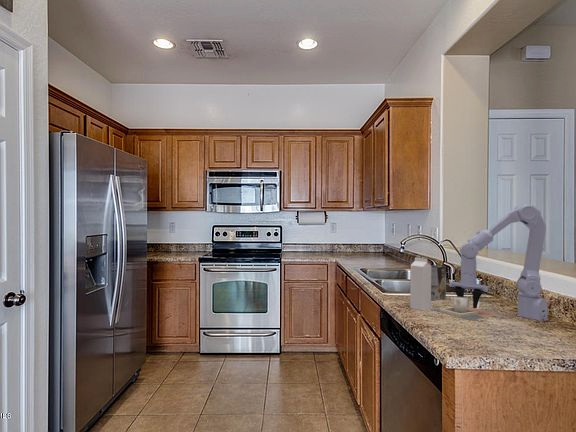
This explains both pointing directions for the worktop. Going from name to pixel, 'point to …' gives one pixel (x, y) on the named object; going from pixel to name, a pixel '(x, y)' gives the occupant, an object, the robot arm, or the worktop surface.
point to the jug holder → (470, 315)
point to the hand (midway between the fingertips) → (468, 306)
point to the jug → (461, 304)
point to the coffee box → (438, 282)
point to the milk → (420, 284)
